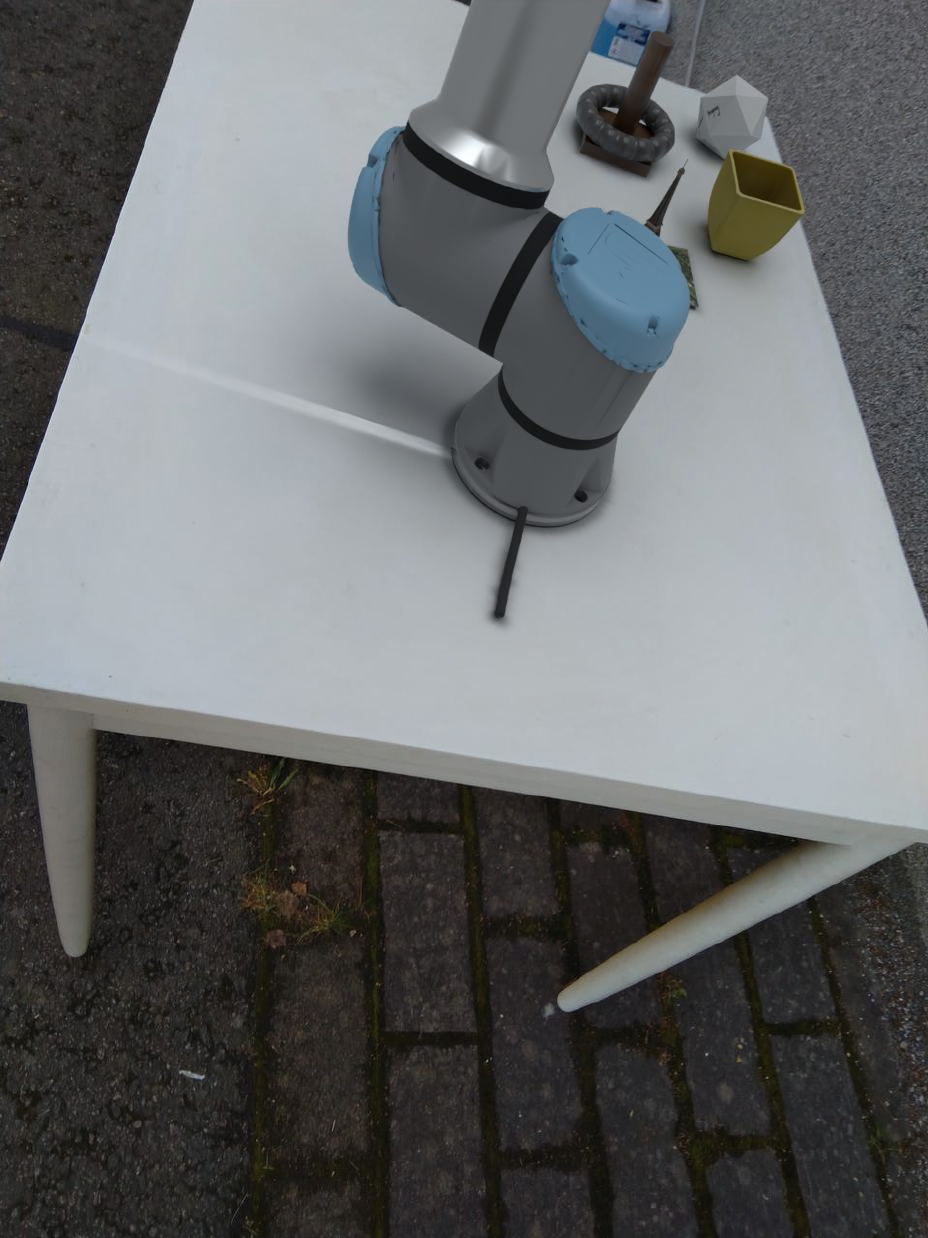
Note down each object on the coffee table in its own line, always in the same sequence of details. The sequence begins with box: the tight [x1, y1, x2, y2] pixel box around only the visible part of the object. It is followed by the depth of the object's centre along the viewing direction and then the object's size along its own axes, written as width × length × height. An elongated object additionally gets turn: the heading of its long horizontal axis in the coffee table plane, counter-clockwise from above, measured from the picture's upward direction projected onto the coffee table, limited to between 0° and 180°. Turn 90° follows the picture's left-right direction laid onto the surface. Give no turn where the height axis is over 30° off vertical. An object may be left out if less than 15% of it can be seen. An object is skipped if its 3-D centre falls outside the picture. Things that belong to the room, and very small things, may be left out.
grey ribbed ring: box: [575, 83, 676, 162], centre depth 114 cm, size 13×13×3 cm
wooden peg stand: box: [579, 30, 676, 178], centre depth 110 cm, size 9×9×14 cm
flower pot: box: [707, 149, 805, 261], centre depth 108 cm, size 9×9×9 cm
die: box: [695, 74, 769, 161], centre depth 119 cm, size 8×9×10 cm
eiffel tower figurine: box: [643, 158, 699, 308], centre depth 98 cm, size 15×10×13 cm
